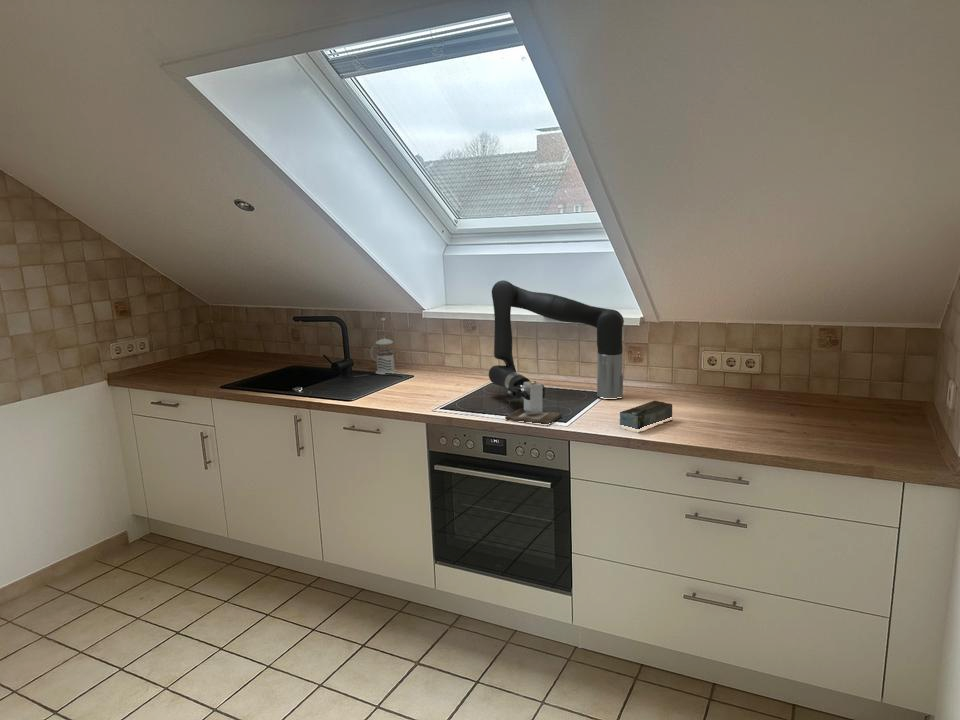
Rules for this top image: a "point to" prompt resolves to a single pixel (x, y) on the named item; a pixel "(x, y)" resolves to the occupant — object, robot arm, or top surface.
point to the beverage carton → (646, 414)
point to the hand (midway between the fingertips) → (536, 396)
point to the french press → (385, 367)
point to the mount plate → (533, 416)
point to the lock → (533, 397)
